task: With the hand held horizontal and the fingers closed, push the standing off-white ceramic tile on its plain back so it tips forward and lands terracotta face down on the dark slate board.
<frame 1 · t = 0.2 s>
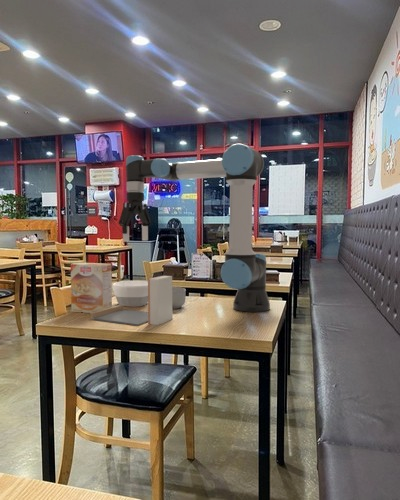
hand: (135, 241, 175), 28 cm above the table, tool pointing down, fingers open, 13 cm apart
tile: (160, 321, 145), on the table
coffeecake box: (91, 312, 161), on the table
teacup: (169, 307, 170), on the table
bowl: (133, 304, 177), on the table
slate board: (130, 317, 151), on the table
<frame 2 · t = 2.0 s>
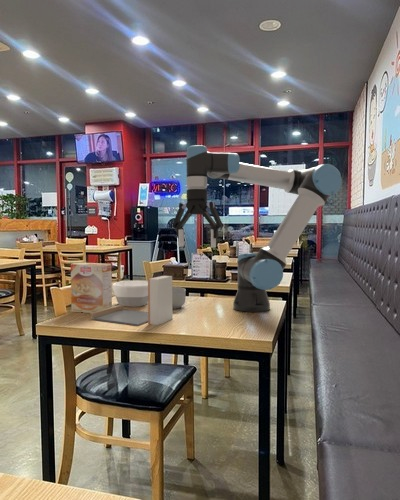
hand: (197, 247, 148), 27 cm above the table, tool pointing down, fingers open, 13 cm apart
nothing on the table moved.
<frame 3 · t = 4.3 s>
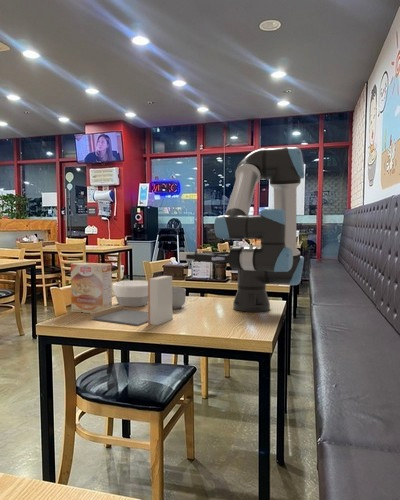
hand: (180, 256, 140), 24 cm above the table, tool horizontal, fingers closed
nothing on the table moved.
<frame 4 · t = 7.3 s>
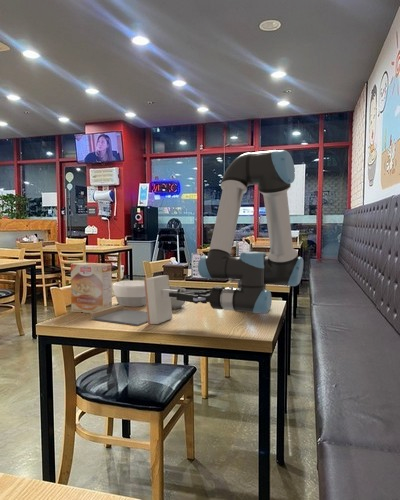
hand: (163, 293, 143), 10 cm above the table, tool horizontal, fingers closed
tile: (160, 320, 144), on the table, tilted 6°
everything else where it was.
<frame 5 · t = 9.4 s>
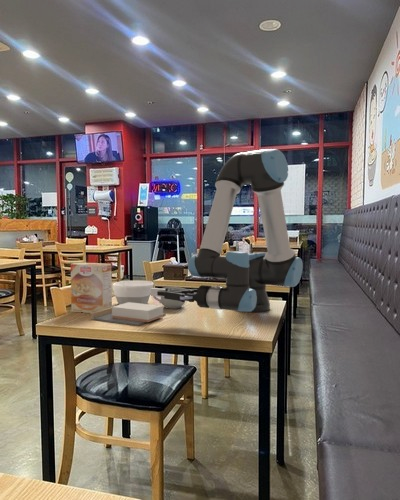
hand: (152, 291, 145), 10 cm above the table, tool horizontal, fingers closed
tile: (156, 313, 145), point 3 cm above the table, tilted 90°, touching slate board
everything else where it was.
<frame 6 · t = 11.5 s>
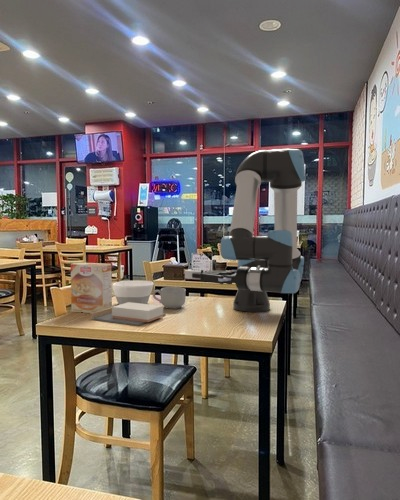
hand: (185, 274, 139), 18 cm above the table, tool horizontal, fingers closed
nothing on the table moved.
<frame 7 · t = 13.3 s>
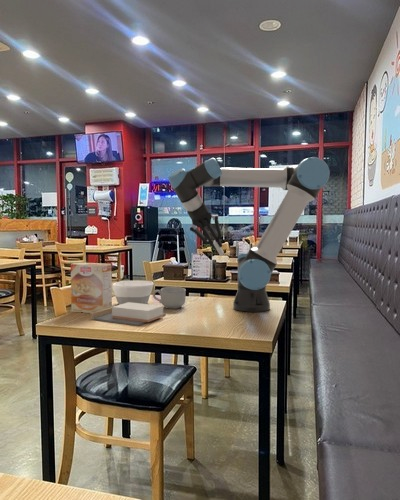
hand: (222, 253, 166), 23 cm above the table, tool tilted 35°, fingers closed
nothing on the table moved.
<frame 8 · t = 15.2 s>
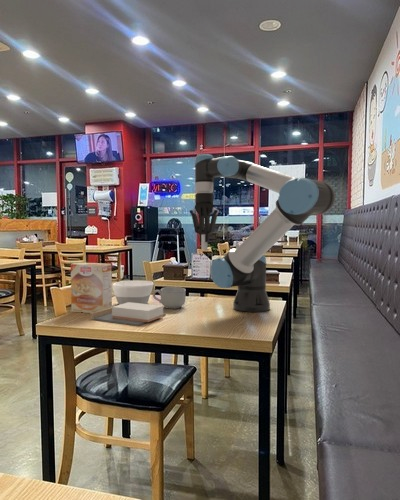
hand: (204, 250, 166), 24 cm above the table, tool pointing down, fingers closed
nothing on the table moved.
at the end: tile tilted 90°; tile 11.5 cm from the slate board (horizontally) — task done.
